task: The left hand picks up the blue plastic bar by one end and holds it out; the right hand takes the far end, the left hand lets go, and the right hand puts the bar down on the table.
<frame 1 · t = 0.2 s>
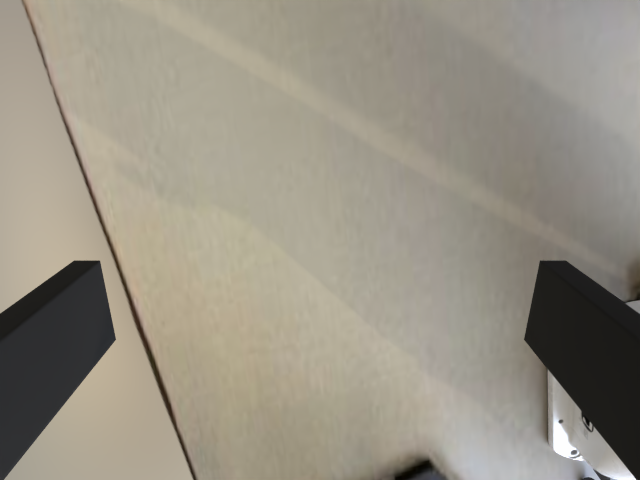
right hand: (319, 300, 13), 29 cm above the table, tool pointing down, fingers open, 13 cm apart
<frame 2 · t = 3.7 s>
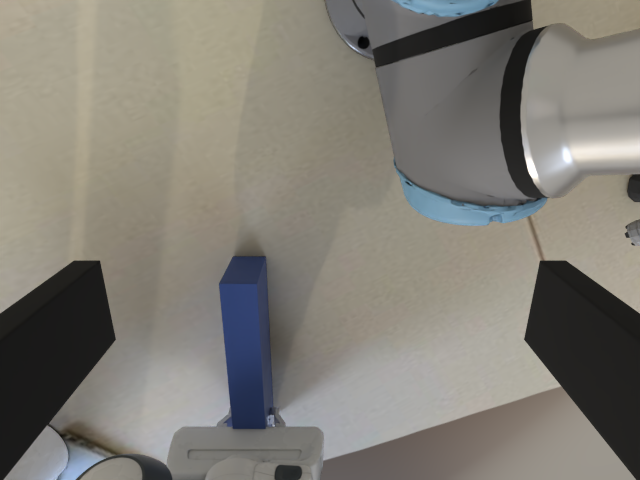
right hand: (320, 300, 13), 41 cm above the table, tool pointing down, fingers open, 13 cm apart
left hand: (255, 410, 62), fingers closed on bar, 4 cm apart
bar: (254, 342, 61), on the table, touching left hand
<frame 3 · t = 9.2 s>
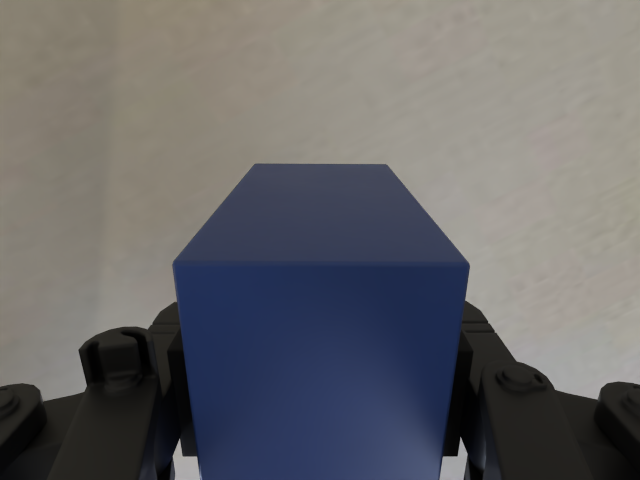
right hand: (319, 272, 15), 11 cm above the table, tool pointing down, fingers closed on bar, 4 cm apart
bar: (319, 468, 19), point 11 cm above the table, touching right hand, left hand
when the left hand's fingers open (13 cm above the table, at t = 9.9 s): bar stays where it is, held by the right hand.
when the right hand's fingers open (2 cm above the table, at t = 14.8 s): bar drops 2 cm, on the table.
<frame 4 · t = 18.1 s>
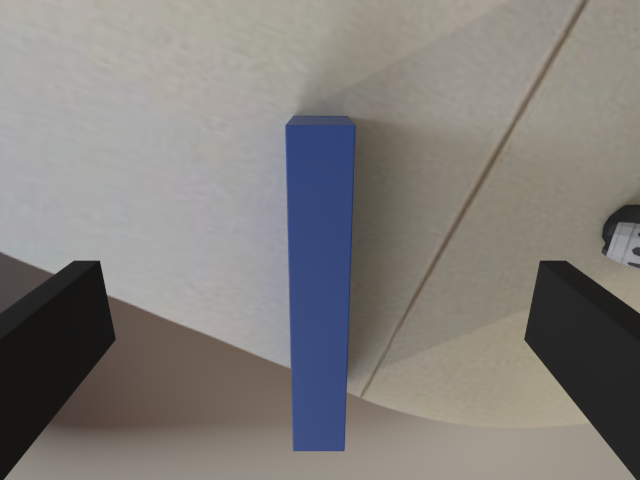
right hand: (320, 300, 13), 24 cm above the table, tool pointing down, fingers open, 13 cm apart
bar: (319, 267, 39), on the table
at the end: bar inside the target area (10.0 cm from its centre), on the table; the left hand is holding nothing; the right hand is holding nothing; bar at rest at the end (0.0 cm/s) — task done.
